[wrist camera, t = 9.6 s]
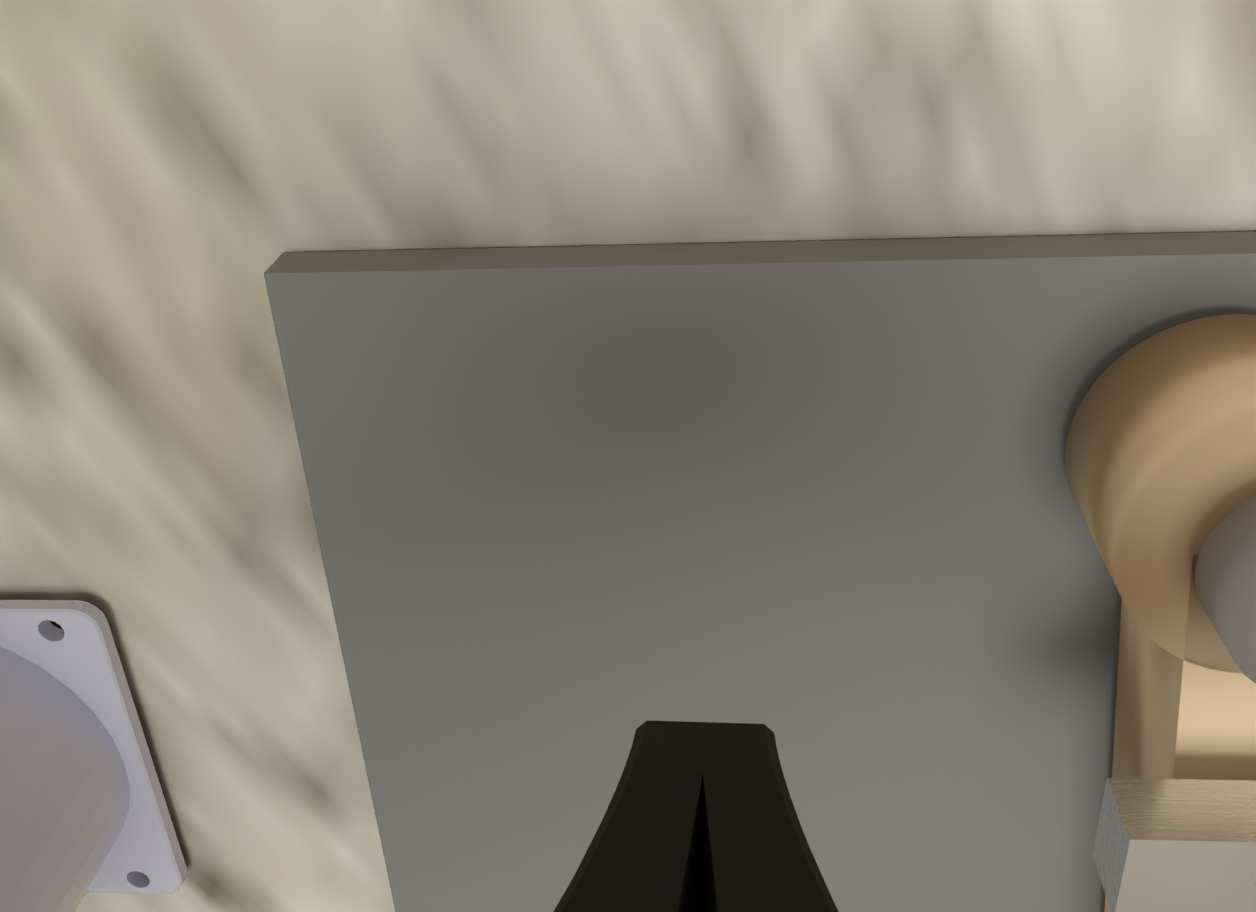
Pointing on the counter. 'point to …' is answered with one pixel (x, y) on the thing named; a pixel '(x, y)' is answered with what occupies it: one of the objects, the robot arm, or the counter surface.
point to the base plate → (737, 541)
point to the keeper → (1177, 845)
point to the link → (1171, 539)
